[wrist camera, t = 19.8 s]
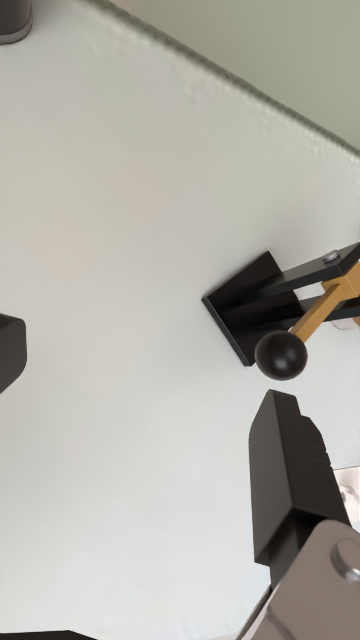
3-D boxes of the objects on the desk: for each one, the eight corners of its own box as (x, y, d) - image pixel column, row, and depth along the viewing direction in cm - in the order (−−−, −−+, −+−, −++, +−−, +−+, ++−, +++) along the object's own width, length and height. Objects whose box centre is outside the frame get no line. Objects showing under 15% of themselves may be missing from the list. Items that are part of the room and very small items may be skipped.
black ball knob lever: (261, 390, 22) (300, 392, 19) (236, 351, 22) (272, 347, 19) (342, 296, 29) (381, 286, 26) (324, 265, 29) (361, 251, 25)
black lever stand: (244, 366, 36) (358, 368, 23) (200, 299, 35) (294, 260, 22) (299, 314, 41) (419, 290, 28) (262, 253, 40) (369, 198, 27)
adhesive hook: (334, 484, 40) (356, 494, 37) (348, 482, 41) (370, 491, 38) (335, 509, 39) (358, 520, 36) (349, 506, 40) (372, 517, 37)
